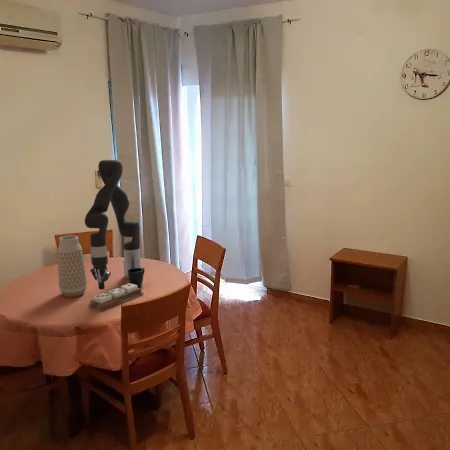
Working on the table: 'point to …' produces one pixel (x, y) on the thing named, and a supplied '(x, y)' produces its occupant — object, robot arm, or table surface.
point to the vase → (71, 267)
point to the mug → (136, 276)
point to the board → (116, 300)
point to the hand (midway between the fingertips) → (101, 289)
